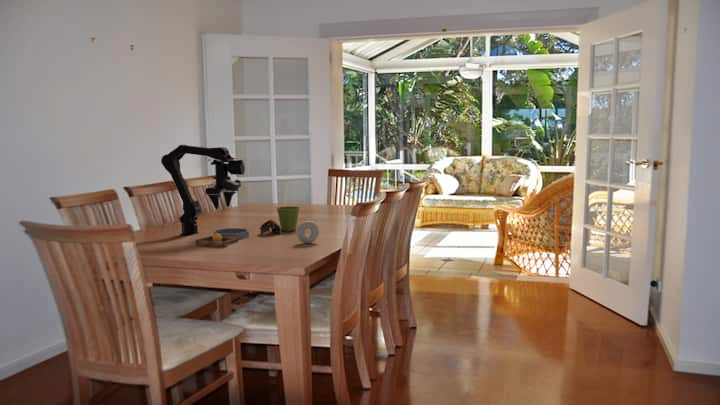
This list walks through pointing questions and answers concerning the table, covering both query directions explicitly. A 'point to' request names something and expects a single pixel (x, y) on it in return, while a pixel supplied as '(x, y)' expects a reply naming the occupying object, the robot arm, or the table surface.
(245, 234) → the bowl
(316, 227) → the donut
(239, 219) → the table surface
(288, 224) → the plant pot
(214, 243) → the tray
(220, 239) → the ball
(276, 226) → the broken clay ring
